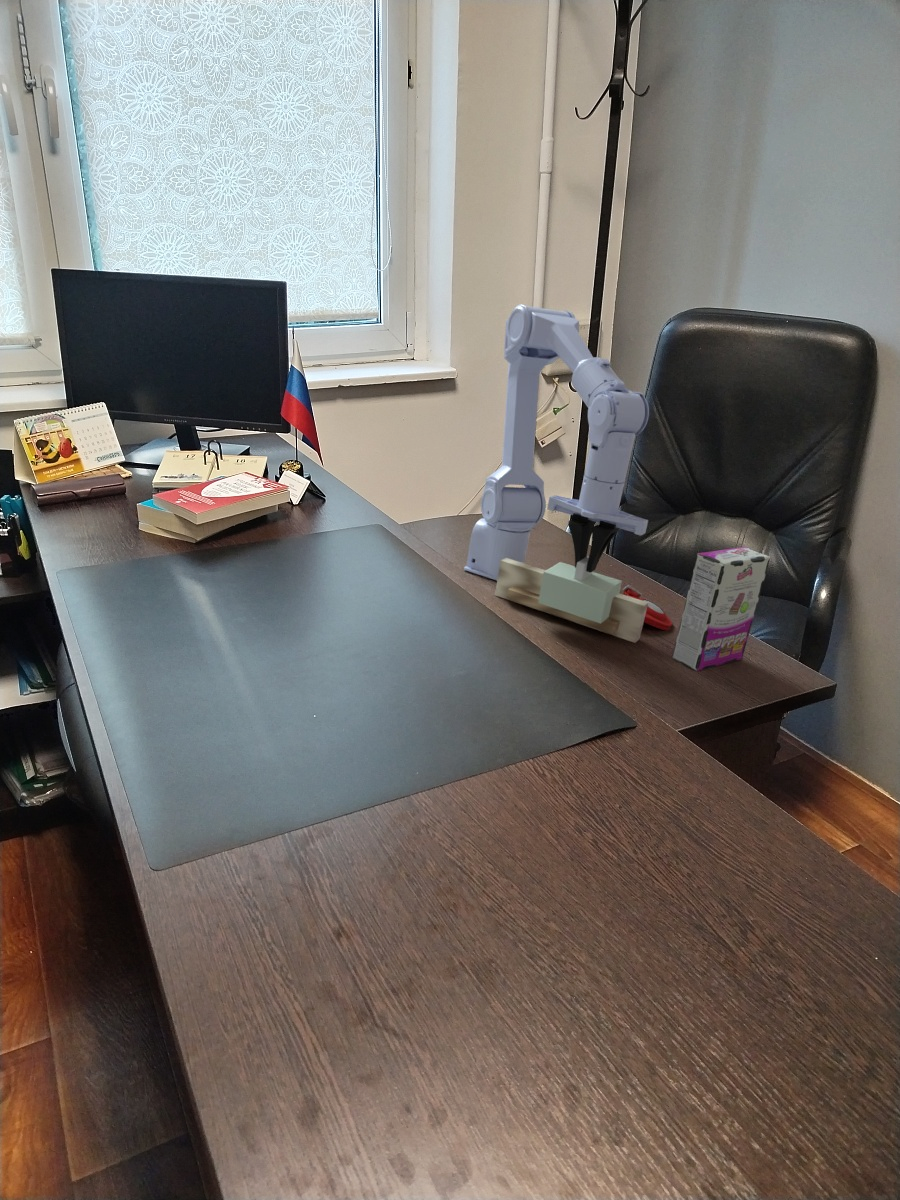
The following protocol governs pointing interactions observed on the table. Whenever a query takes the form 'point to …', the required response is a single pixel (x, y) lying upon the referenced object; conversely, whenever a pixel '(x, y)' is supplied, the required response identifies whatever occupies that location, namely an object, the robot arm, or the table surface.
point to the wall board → (525, 589)
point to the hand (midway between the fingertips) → (585, 568)
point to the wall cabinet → (578, 591)
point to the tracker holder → (650, 611)
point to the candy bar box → (720, 607)
